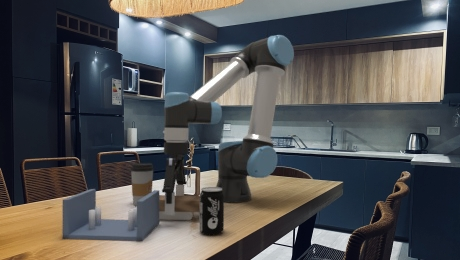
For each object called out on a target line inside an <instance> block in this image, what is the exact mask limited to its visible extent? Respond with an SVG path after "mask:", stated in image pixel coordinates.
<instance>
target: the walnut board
mask: <svg viewBox="0 0 460 260" xmlns="http://www.w3.org/2000/svg"><path fill="white" fill-rule="evenodd" d="M159 211H165V194H164V195H160V194H159ZM174 212H192V213H200V195H184V196H176V195H175V206H174Z"/></svg>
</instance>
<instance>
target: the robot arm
mask: <svg viewBox="0 0 460 260" xmlns="http://www.w3.org/2000/svg"><path fill="white" fill-rule="evenodd" d="M294 56H295V51H294V47H293V44H292V43H291V41H290V40H289V39H288V38H287V37H286V36H285V35H282V34H277V35H270V36H269V37H266V38H262V39H259V40H257V41H253V42H251V43H249V44H247V46H245V47H244V48H243V49H241V50H240V51H239V52H238V53H236V54H235V55H234V56H233V57H232V58H231V59H230V60H229V64H227V65H226V66H225V67H224V68H222V69H221V70H220V71H218V73H216V74H215V75H214V76H213V77H211V78H210V79H209V80H208V81H207V82H206V83H204V84H203V85H202V86H200V88H198V89H197V90H196V91H195V92H193V94H191V95H189V93H187V92H181V91H172V92H171V91H170V92H167V93H166V94H165V99H164V106H163V107H164V130H163V131H162V134H164V135H163V136H164V137H163V138H164V139H163V140H164V141H165V142H164V143H163V153H164V154H165V155H169V157H168V158H166V160H165V161H166V165H165V174H164V180H163V188H162V189H161V191H162V192H161V193H164V195H165V214H167V215H174V206H175V196H185V185H187V184H188V183H187V182H188V181H187V180H186V170H185V167H186V166H185V155H187V154H188V153H189V143H188V141H189V131H190V129H189V125H198V124H199V125H200V124H201V125H202V124H203V125H216V124H218V123H219V122H220V121H221V119H222V116H223V111H222V110H223V109H222V106H221V105H220V103H219V102H216V101H217V100H218V99H219V98H221V96H224V94H226V93H227V91H229V90H230V89H231V88H232V87H234V85H236V83H238V82H239V81H240V80H241V79H245V78H247V77H249V75H251V74H253V73H255V72H256V74H257V77H256V82H255V89H254V94H253V95H254V96H253V102H252V107H251V112H250V118H249V126H248V131H247V134H246V135H245V136H243V138H242V140H235V141H234V140H233V141H226V142H221V143H219V145H218V151H217V154H218V155H217V157H218V159H217V164H218V165H217V168H218V169H217V170H218V171H217V172H218V177H217V178H218V179H217V183H216V186H215V187H219V188H222V192H223V194H224V203H242V202H243V203H244V202H245V203H246V202H248V201H251V200H252V191H251V189H250V185H249V183H248V177H251V178H256V179H257V178H258V179H263V178H267V177H269V176H270V175H271V174H273V173H274V171H275V169H277V165H278V154H277V151H276V149H274V142H273V141H272V139H271V136H272V130H273V123H274V117H275V116H274V115H275V111H276V104H277V98H278V92H279V85H280V79H281V77H283V76H284V75H285V74H286V73H285V72H286V68H287V67H286V66H289V65H290V64H291V63H293V60H294V58H295V57H294Z"/></svg>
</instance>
